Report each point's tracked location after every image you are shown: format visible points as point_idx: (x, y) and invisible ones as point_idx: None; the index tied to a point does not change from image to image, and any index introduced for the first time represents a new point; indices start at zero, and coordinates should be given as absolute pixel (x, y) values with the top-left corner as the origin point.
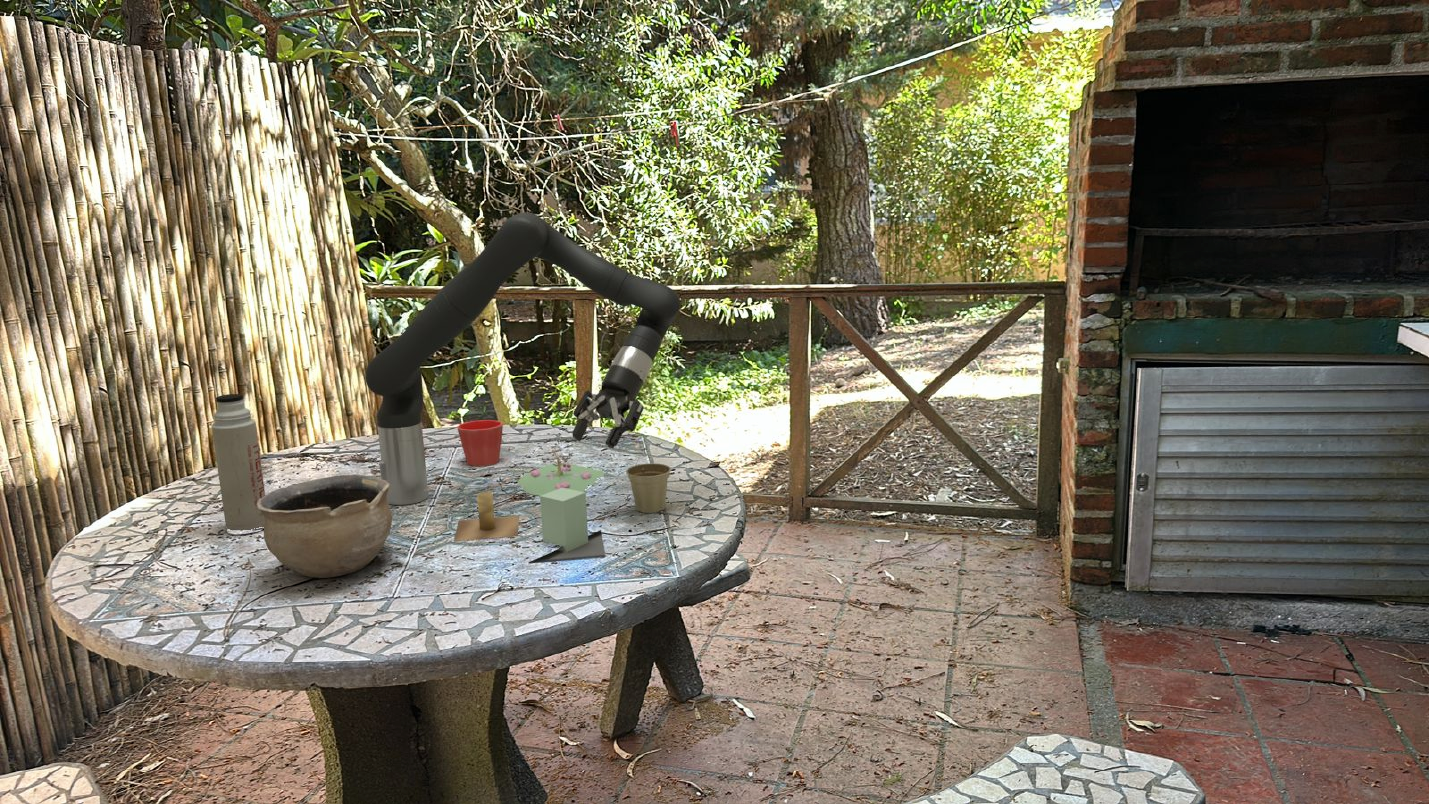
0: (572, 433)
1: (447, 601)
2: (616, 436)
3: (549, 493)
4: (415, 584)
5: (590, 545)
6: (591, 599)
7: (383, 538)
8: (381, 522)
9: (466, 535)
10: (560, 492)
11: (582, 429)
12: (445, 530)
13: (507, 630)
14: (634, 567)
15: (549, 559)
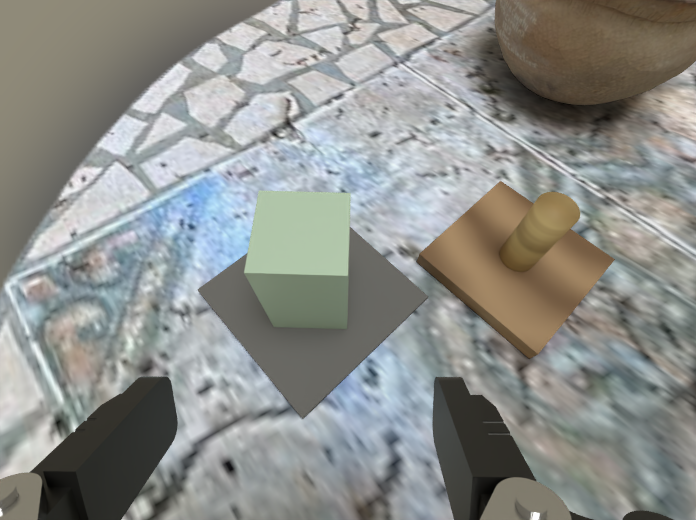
0: (482, 396)
1: (326, 80)
2: (74, 435)
3: (341, 218)
4: (412, 91)
5: (258, 315)
6: (132, 156)
7: (514, 50)
8: (520, 13)
9: (510, 209)
10: (317, 238)
11: (452, 468)
12: (608, 243)
13: (196, 65)
14: (113, 278)
15: None
